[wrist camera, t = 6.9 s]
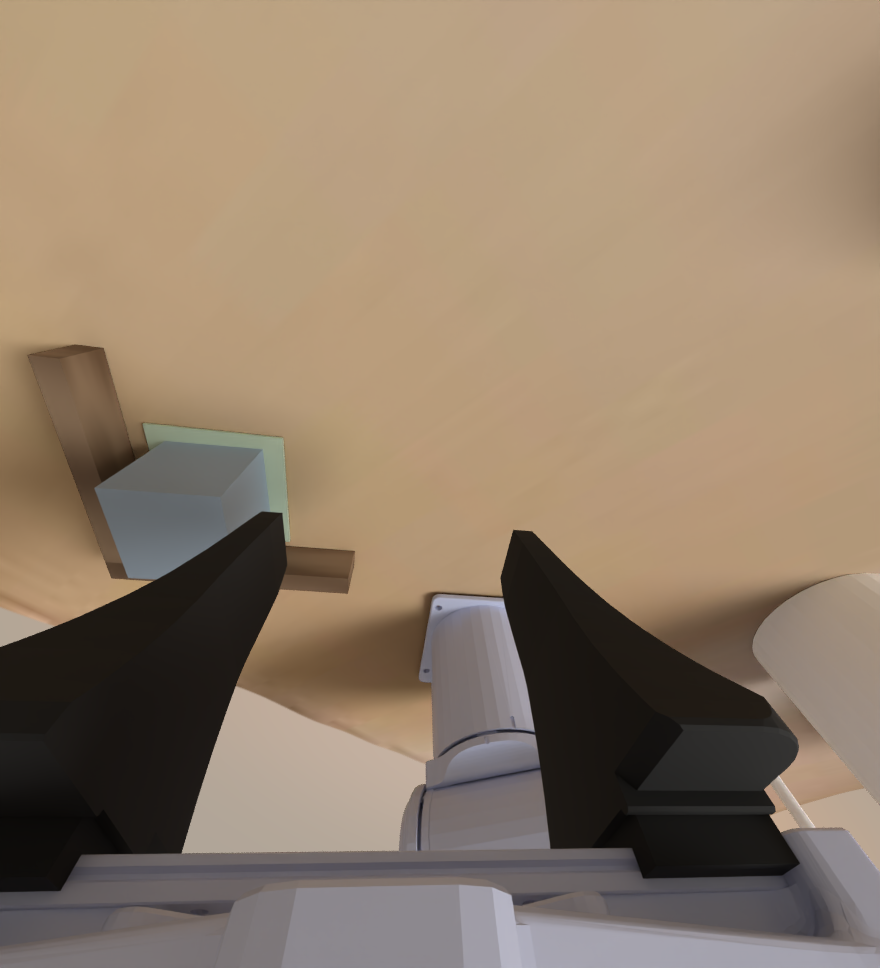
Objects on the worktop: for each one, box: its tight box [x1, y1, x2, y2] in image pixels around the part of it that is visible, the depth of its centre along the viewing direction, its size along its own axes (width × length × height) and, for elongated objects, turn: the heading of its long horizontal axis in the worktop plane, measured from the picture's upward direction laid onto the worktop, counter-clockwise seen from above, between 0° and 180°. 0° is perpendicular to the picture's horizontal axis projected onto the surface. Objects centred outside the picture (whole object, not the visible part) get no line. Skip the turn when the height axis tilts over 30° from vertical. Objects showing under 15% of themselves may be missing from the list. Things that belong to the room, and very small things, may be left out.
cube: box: [94, 441, 270, 579], centre depth 19 cm, size 5×5×5 cm
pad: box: [143, 423, 290, 542], centre depth 22 cm, size 7×7×1 cm
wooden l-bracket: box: [28, 345, 355, 594], centre depth 20 cm, size 12×13×2 cm
